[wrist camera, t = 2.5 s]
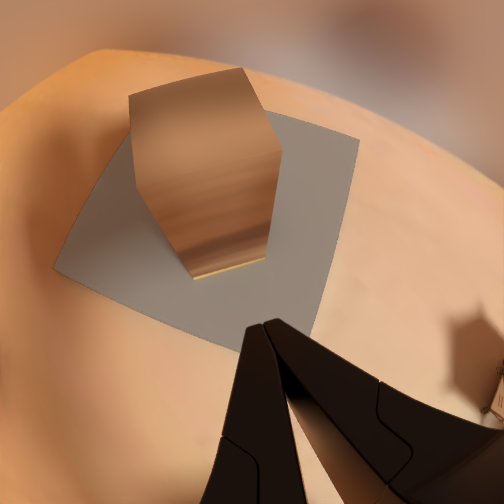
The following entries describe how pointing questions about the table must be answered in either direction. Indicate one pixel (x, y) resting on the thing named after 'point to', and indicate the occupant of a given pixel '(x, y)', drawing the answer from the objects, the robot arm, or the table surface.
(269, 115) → the rubber mat
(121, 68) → the table surface
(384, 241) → the table surface
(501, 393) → the game die
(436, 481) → the robot arm
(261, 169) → the walnut block
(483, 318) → the table surface
